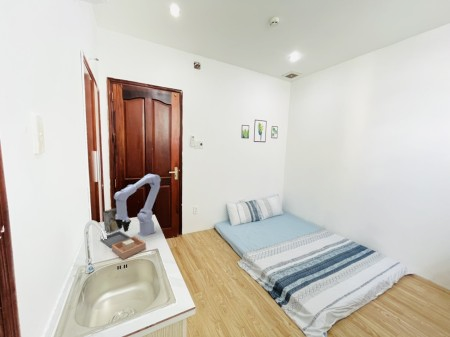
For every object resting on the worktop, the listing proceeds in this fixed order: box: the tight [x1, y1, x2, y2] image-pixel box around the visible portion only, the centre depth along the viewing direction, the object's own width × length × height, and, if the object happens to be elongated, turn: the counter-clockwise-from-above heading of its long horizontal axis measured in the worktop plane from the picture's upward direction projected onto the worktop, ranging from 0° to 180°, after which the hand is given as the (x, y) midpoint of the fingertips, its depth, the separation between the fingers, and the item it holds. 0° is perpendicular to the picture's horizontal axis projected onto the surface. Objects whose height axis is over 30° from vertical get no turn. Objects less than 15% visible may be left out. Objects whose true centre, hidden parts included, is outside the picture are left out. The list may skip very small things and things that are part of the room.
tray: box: [99, 230, 132, 249], centre depth 128 cm, size 13×16×2 cm
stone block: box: [122, 239, 135, 251], centre depth 117 cm, size 5×5×5 cm
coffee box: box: [102, 207, 122, 234], centre depth 143 cm, size 9×6×16 cm
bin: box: [111, 236, 147, 260], centre depth 118 cm, size 14×14×4 cm
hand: (123, 229), depth 125 cm, fingers open, 7 cm apart
